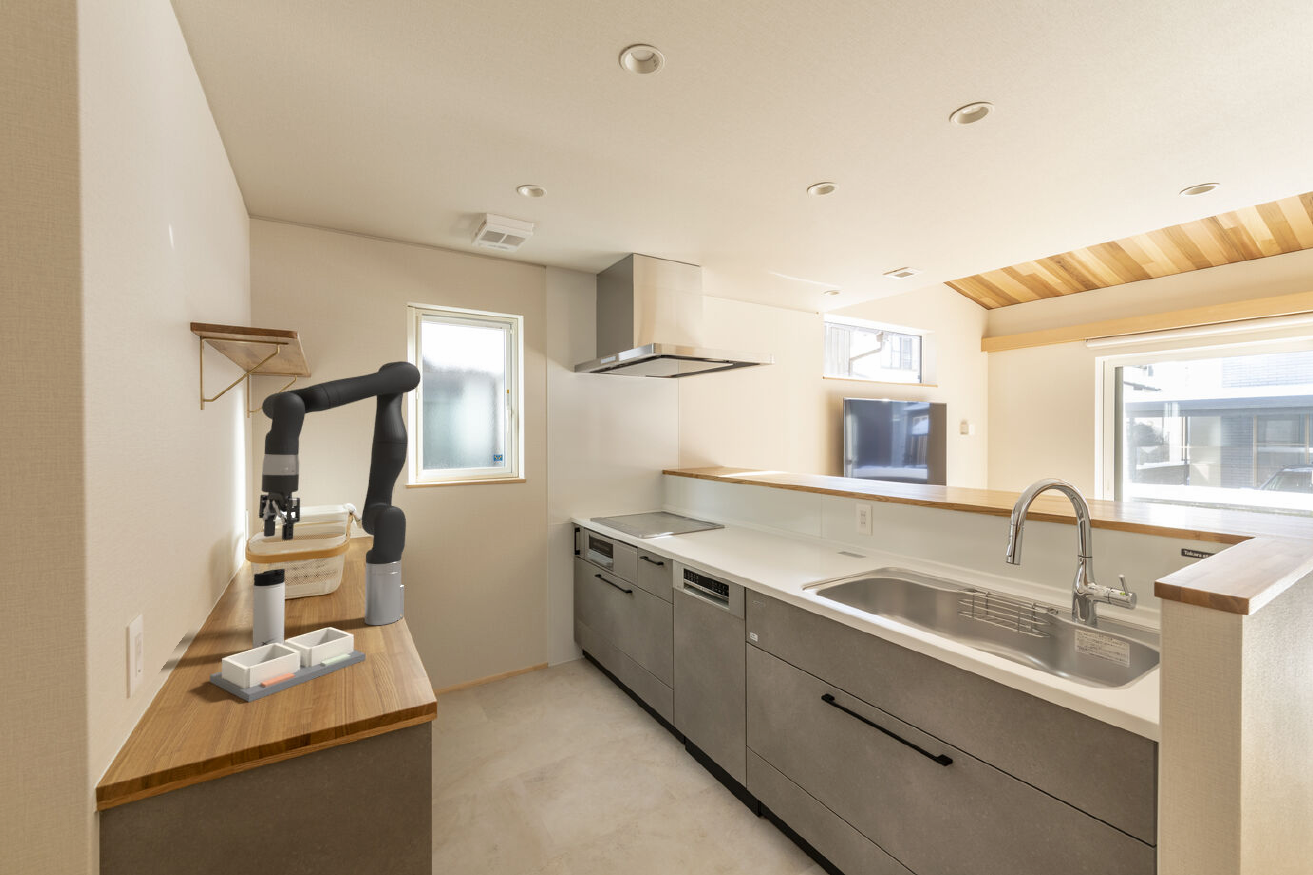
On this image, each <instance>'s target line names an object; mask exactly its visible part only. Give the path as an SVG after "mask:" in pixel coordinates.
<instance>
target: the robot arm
mask: <svg viewBox="0 0 1313 875" xmlns="http://www.w3.org/2000/svg"><path fill="white" fill-rule="evenodd" d="M420 382H421V372H420V370H419V369H418V367H417V366H416V365H414V364H413V363H411V362H409V361H392V362H391V361H390V362H387V363H384V364H383V365H381V366H380V368H379V369H378V370H377V371H376V372H373V373H367V374H364V375H358V376H351V377H347V378H339V379H334V380H330V381H329V380H328V381H325V382H321V383H318V384H317V383H316V384H314V385H310V386H308V387H302V388H298V389H297V388H296V389H292V390H286V391H281V392H275V393H272V394H270V395H268V396H267V397H265V399H264V400H263V402H262V405H261V408H262V409H261V410H262V412H263V414H264V415H265V416H266V417H267V418H268V419H270V420H271V427H270V430H269V431H268V432H267V433H266V435H265V438H264V456H263V460H262V471H261V473H262V474H261V491H262V492H263V493H266V494H260V497H259V500H260V501H259V509H258V510H259V513H258V518H259V519H262V522H263V523H264V524H263V536H264V537H267V538H268V537H274V536H275V534H276V519H277V517H278V518H280V520H281V523H282V526H281V528H282V529H281V539H282V540H283V541H290V540H293V539H294V529H295V528H294V526H295V525H296V523H299V522H300V521H301V498H300V497H293V493H295V492H298V491H299V483H300V482H299V479H300V478H299V477H300V457H299V452H300V435H301V433H302V428H303V425H304V421H305V416H306V414H310V413H319V412H323V411H328V410H332V409H334V408H339V407H342V406H345V405H349V404H353V403H355V402H358V401H362V400H365V399H369V398H372V397H376V411H375V417H374V426H373V427H374V430H373V437H372V445H371V455H370V456H371V458H370V466H369V475H368V484H367V485H368V486H367V490H366V494H365V495H366V496H365V499H364V500H365V501H364V504H363V510H362V513H361V514H362V515H361V527H362V529H363V531H365V533H366V534H368V535H370V536H373V540H372V548H371V549H369V550H367V552H366V553H365V575H364V576H365V581H364V582H365V584H364V585H365V586H364V587H365V588H364V589H365V590H364V592H365V593H364V623H365V624H366V625H369V626H380V625H381V626H383V625H388V624H392V623H395V622H398V621H399V620H400V619H403V618H404V616H405V614H404V613H405V612H404V610H405V609H404V607H405V604H404V603H405V585H404V584H402V554H403V552H404V549H405V547H406V546H405V545H406V530H407V521H406V516H405V512H404V511H403V510H402V509H401V508H400V507H398V506H395V505H392V504H393V503H392V501H393V491H394V487H395V484H396V482H397V479H398V478H399V476H400V474H401V472H402V471H403V468H404V465H405V463H406V458H407V453H408V451H407V450H408V442H409V440H408V433H407V429H406V425H405V421H404V418H403V414H402V412H403V411H402V408H403V407H402V406H403V397H404V394H406V393H410V392H412V391H414V390H415V389H416V388H417V387H418V386H419V384H420ZM400 614H401V615H402V617H401V616H400ZM397 620H398V621H397Z"/></svg>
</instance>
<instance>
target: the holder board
mask: <svg viewBox="0 0 1313 875" xmlns="http://www.w3.org/2000/svg"><path fill="white" fill-rule="evenodd" d="M354 645H355V635H354V633H350V632H347V631H344V630H340V629H337V628H335V627H331V626H330V627H325V628H322V629H318V630H315V631H311V632H307V633H304V634H301V635H297V636H294V637H289V638H287V639H286V640H285V639H284V645H282V644H279V643H274V644H273V643H272V644H269V645H265V646H262V647H259V648H255V649H253V648H252V649H249V650H246V651H242V652H239V653H235V654H232V655H228V656H225V657H223V658H221V671H218V672H216V673H215V672H214V673H213V674H210V675H209V682H210V684H213V685H216V686H217V687H219V688H221V689H223V690H225V691H227V692H228V693H230V694H232V695H235V696H236V697H238V698H240V699H242V700H244V701H246V702H248V703H251V702H254V701H256V700H258V699H262V698H264V697H265V698H266V697H267V696H269V695H273V694H275V693H279V692H280V691H283V690H286V689H289V688H292V687H295V686H297V685H300V684H303V683H306V682H309V681H311V680H314V679H316V678H320V677H322V676H324V675H327V674H330V673H333V672H336V671H338V670H341V669H345V668H347V667H349V666H352V665H355V664H357V663H360V662H363V661H365V660H366V653H365V652H362V651H359V650H356V649H354V647H355V646H354ZM319 676H320V677H319Z"/></svg>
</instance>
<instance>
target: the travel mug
mask: <svg viewBox="0 0 1313 875" xmlns="http://www.w3.org/2000/svg"><path fill="white" fill-rule="evenodd" d="M285 571H286V570H285V568H280V569H279V568H278V569H277V568H276V569H271V570H266V571H263V572H261V573H260V572H259V573H255V574H253V597H252V599H253V600H252V601H253V604H252V606H253V607H252V649H255V648H259V647H262V646H265V645H269V644H272V643H273V644H274V643H279V644H282V645H284V641H285V603H286V602H285V600H286V599H285V597H286V596H285V595H286V594H285V593H286V590H285V589H286V580H285V578H286V576H285V575H286V574H285V573H286V572H285Z"/></svg>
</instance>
